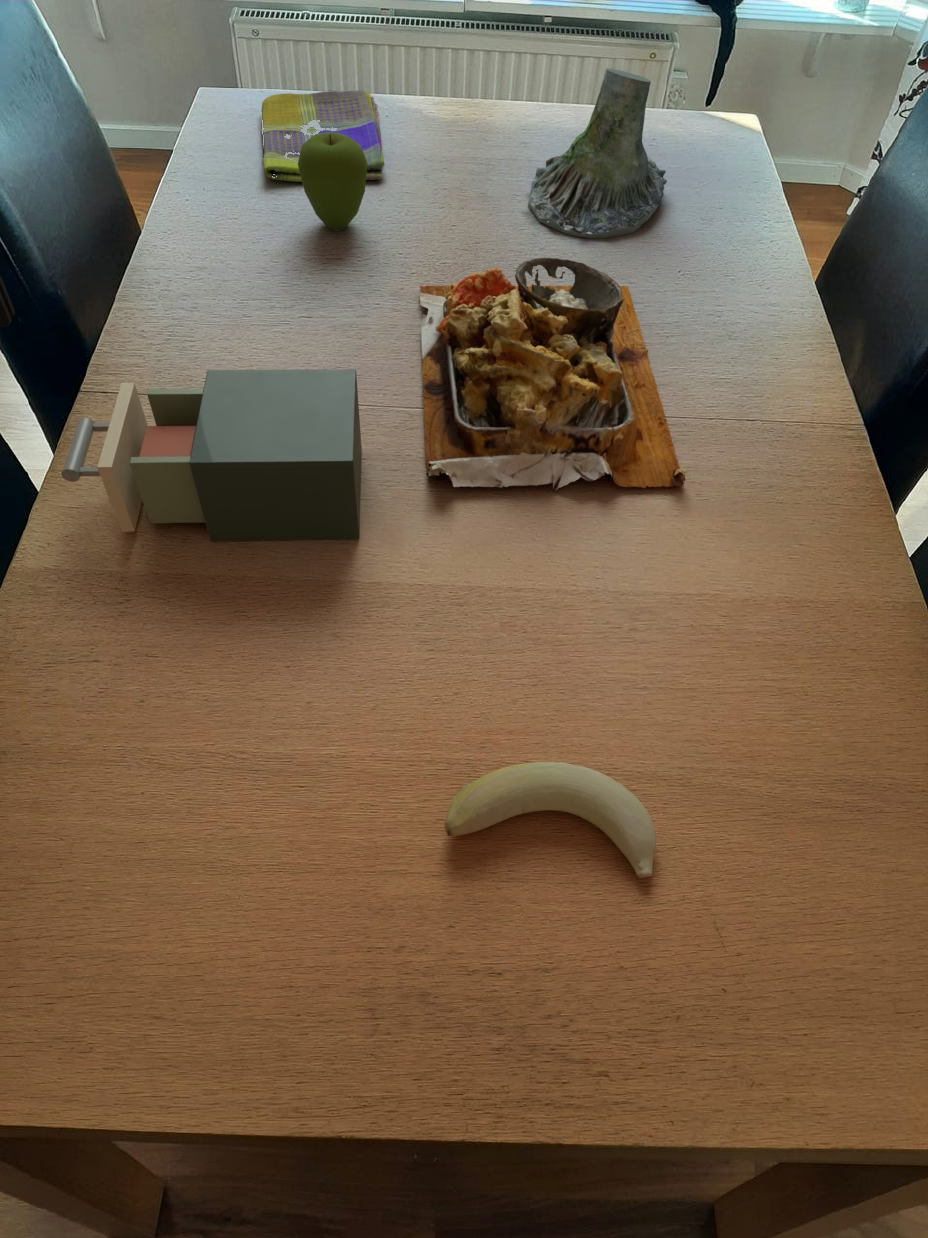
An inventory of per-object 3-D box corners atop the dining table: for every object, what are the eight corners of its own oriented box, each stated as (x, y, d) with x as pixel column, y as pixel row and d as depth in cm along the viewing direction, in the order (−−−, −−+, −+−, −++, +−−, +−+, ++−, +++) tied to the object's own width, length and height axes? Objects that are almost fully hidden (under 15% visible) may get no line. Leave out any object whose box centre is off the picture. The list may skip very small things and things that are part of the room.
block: (150, 496, 83) (138, 459, 80) (157, 462, 86) (146, 425, 82) (199, 495, 83) (189, 458, 80) (205, 462, 86) (196, 425, 83)
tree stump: (494, 208, 123) (519, 55, 112) (573, 193, 136) (603, 55, 125) (606, 251, 115) (645, 91, 104) (679, 230, 128) (720, 87, 117)
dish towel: (259, 185, 124) (256, 164, 121) (262, 107, 138) (260, 88, 136) (387, 182, 125) (386, 162, 123) (377, 106, 140) (376, 86, 138)
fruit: (460, 758, 70) (461, 735, 67) (656, 793, 68) (665, 772, 66) (441, 844, 65) (442, 824, 63) (650, 883, 64) (660, 864, 61)
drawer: (73, 532, 82) (44, 467, 75) (98, 448, 89) (73, 382, 82) (260, 529, 83) (247, 465, 76) (270, 446, 90) (259, 381, 83)
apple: (383, 228, 118) (380, 136, 109) (330, 249, 114) (322, 156, 105) (344, 201, 122) (338, 110, 113) (291, 220, 118) (280, 128, 109)
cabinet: (210, 541, 83) (188, 462, 75) (225, 449, 90) (207, 369, 83) (359, 539, 83) (353, 461, 76) (361, 448, 91) (356, 368, 84)
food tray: (418, 291, 109) (418, 204, 101) (626, 291, 110) (643, 206, 102) (426, 494, 87) (427, 405, 79) (685, 490, 89) (712, 403, 80)
